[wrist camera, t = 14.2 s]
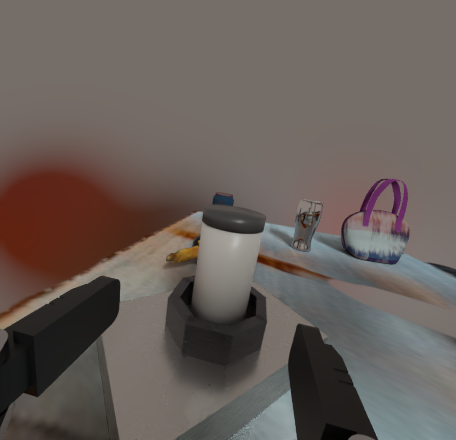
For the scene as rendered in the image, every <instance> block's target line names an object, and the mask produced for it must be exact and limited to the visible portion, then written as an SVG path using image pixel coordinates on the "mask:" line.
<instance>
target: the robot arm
mask: <svg viewBox="0 0 456 440" xmlns="http://www.w3.org/2000/svg"><path fill="white" fill-rule="evenodd" d="M119 304H120V281H119V280H118V279H114V278H110V277H106V276H100V277H98V278H96V279H95V280H93V281H92V282H90V283H88V284H85V285H82V286H79V287H76V288H74V289H71V290H70V291H68V292H66V293H64V294H63V295H61V296H60V297H59V298H56V299H54V300H53V301H51V302H50V303H49V304H46V305H44V306H43V307H41V308H39V309H38V310H36V311H34V312H32V313H31V314H29V315H27V316H26V317H24V318H22V319H21V320H19V321H17V322H16V323H14V324H12V325H11V326H9V327H7V328H6V329H4V330H3V329H0V440H2V439H3V437H4V434H5V432H6V429H7V426H8V424H9V421H10V419H11V416H12V413H13V411H14V407H15V400H16V399H17V398H18V397H19V396H21V395H22V394H23V393H26V394H29V395H32V396H35V397H39V396H40V395H41V394H42V393H43V392H44V391H45V390H46V389H47V388H48V387H49V386H50V385H51V384H52V383H53V382H54V381H55V380H56V379H57V378H58V377H59V376H60V375H61V374H62V373H63V372H64V371H65V370H66V369H67V368H68V367H69V366H70V365H71V364H72V363H73V362H74V361H75V360H76V359H77V358H78V357H79V356H80V355H81V354H82V353H83V352H84V351H85V350H86V349H87V348H88V347H89V346H90V345H91V344H92V343H93V342H94V341H95V340H96V339H97V338H98V337H99V336H100V335H101V334H103V333H104V332H105V331H106V330H107V329H108V328H109V327H110V326H111V325H112V324H113V322H114V321H115V319H116V318H117V315H118V313H119ZM288 373H289V381H290V388H291V396H292V403H293V411H294V418H295V426H296V433H297V440H378V439H377V436H376V434H375V432H374V429H373V427H372V425H371V423H370V420H369V418H368V416H367V414H366V411H365V409H364V407H363V404H362V402H361V400H360V398H359V395H358V393H357V391H356V389H355V387H354V386H353V382H352V379H351V377H350V375H348V370H347V368H346V366H345V364H344V361H343V359H342V357H341V356H340V355H339V354H338V353H337V351H336V350H335V349H334V348H333V347H332V345H328V344H324V341H323V339H322V336H321V333H320V331H319V329H318V328H316V327H312V326H308V325H304V324H300V323H299V324H298V325H297V327H296V331H295V334H294V338H293V342H292V345H291V349H290V353H289V359H288Z"/></svg>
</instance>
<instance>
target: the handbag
mask: <svg viewBox="0 0 456 440" xmlns="http://www.w3.org/2000/svg"><path fill="white" fill-rule="evenodd" d="M383 180H386V181H384V182H383V183H382V184H381V185H380V186H379V187H378V188H377V189H376V190H375V188H376V186H377V185H378V183H380V182H381V181H383ZM396 181H400V180H396V179H381V180H380V181H378V182H376V183H375V184H374V185H373V186H372V187H371V189H370V190H369V192H368V193H367V195H366V197H365V199H364V201H363V204H362V207H361V209H360V212H356V213H354V214H352V215H350V216H349V217H347V218H346V219H345V220H344V222H343V225H342V228H341V241H342V246H343V247H344V248H345V249H347V250H348V251H349V252H350V253H351V254H353V255H354V256H355V257H357V258H359V259H363V260H368V261H374V262H381V263H386V264H396V263H397V262H398V261H399V259H400V257H401V255H402V253H403V251H404V249H405V247H406V245H407V242H408V239H409V227H408V224H407V223H406V222H405V221H404V220H403V217H404V214H405V210H406V206H407V200H408V193H407V187H406V185H405V184H404V182H402V181H401V182H402V183H403V185H404V197H403V202H402V206H401V209H400V213H399V216H397V215H396V214H397V212H398V209H399V206H400V201H401V194H400V188H399V185H398V183H397V182H396ZM390 183H391V184H392V187H393V192H394V205H393V209H392V213H390V212H386V211H380V210H372V209H373V207H374V204H375V202H376V200H377V198H378V196H379V195H380V193H381V192H382V191H383V190H384V189H385V188H386V187H387V186H388V185H389V184H390ZM374 190H375V192H374V193H373V191H374ZM372 193H373V195H372ZM371 195H372V196H371ZM370 197H371V198H370ZM369 199H370V201H369ZM368 202H369V204H368ZM367 204H368V207H367ZM366 207H367V210H366ZM365 210H366V211H365ZM403 254H404V253H403Z"/></svg>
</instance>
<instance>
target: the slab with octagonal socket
mask: <svg viewBox="0 0 456 440" xmlns="http://www.w3.org/2000/svg"><path fill="white" fill-rule="evenodd" d="M194 281H195V276H191V277H186V278H183V279H182V280H181V282H180V283H179V284H178V285H177V287H176V288H175V289H174V291H169V292H165V293H160V294H156V295H151V296H147V297H142V298H138V299H133V300H129V301H124V302H120V304H119V313H118V315H117V318H116V319H115V321H114V322H113V324H112V325H111V326H110V327H109V328H108V329H107V330H106V331H105V332H104V333H103V334H101V335H100V336H99V337H98V338H97V339H96V341H97V348H98V355H99V363H100V370H101V377H102V384H103V392H104V399H105V406H106V414H107V421H108V428H109V435H110V440H227V439H228V438H229V437H230V436H232V435H233V434H234V433H235V432H237V431H238V430H239V429H240V428H242V427H243V426H244V425H245V424H247V423H248V422H249V421H250V420H252V419H253V418H254V417H255V416H257V415H258V414H259V413H261V412H262V411H263V410H264V409H266V408H267V407H268V406H269V405H271V404H272V403H273V402H274V401H276V400H277V399H278V398H279V397H281V396H282V395H283V394H284V393H286V392H287V391H288V390H289V389H291V388H290V381H289V373H288V359H289V353H290V349H291V345H292V342H293V338H294V334H295V331H296V327H297V325H298V324H299V323H300V324H304V325H308V326H312V327H315V326H313V325H312V324H311V323H309V322H308V321H307V320H305V319H304V318H303V317H301V316H300V315H298V314H297V313H296V312H294V311H293V310H292V309H290V308H289V307H288V306H286V305H285V304H284V303H282V302H281V301H280V300H278V299H277V298H275V297H274V296H273V295H271V294H270V293H269V292H267V291H266V290H265V289H263V288H262V287H261V286H259V285H258V284H257V283H255V282H254V281H252V286H251V291H250V296H249V301H248V306H247V311H246V315H245V320H243V321H241V322H238V323H236V324H233V325H231V326H228V325H224V324H220V323H216V322H212V321H208V320H204V319H200V318H196V317H194V316H193V314H192V313H191V312H190V310H191V303H192V296H193V288H194ZM319 331H320V330H319ZM320 333H321V336H322V339H323V341H324V344H326V341H327V338H328V336H327V335H326V334H324V333H323V332H321V331H320Z"/></svg>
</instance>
